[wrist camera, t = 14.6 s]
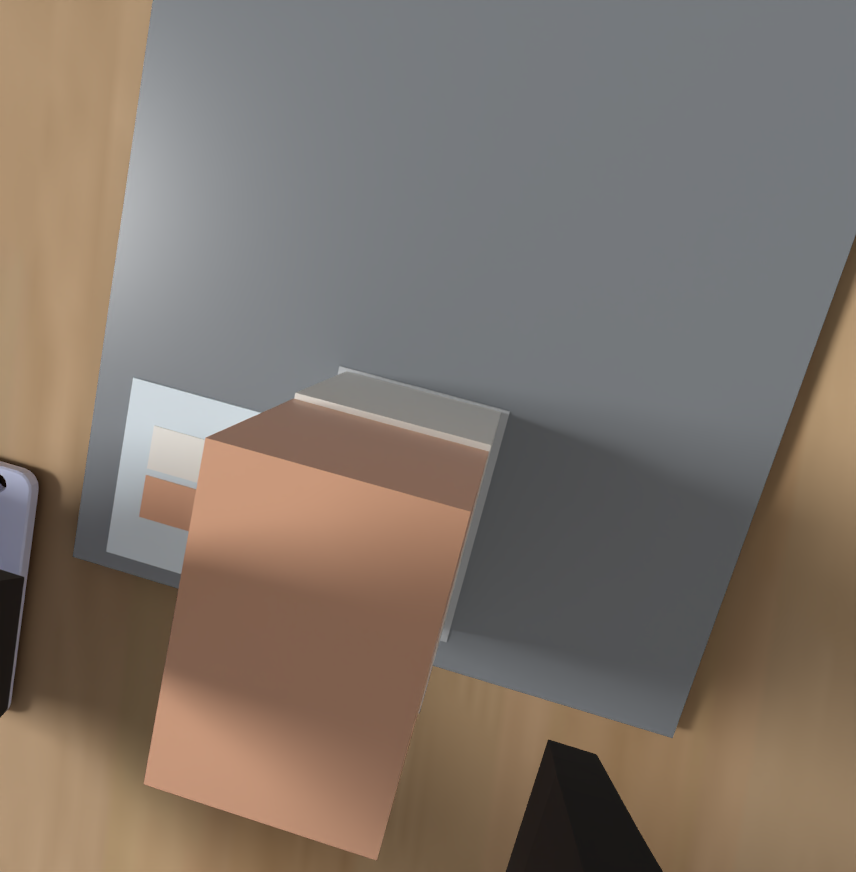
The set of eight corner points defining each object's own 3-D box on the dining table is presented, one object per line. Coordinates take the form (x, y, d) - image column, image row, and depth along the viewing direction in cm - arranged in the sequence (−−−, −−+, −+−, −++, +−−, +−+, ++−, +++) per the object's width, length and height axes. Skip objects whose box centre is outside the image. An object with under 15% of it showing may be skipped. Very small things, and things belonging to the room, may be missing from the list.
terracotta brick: (239, 664, 16) (144, 784, 12) (293, 398, 15) (205, 437, 11) (416, 718, 16) (376, 861, 12) (488, 451, 14) (470, 511, 10)
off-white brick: (299, 587, 20) (241, 659, 16) (345, 371, 18) (295, 392, 15) (442, 629, 19) (419, 713, 16) (501, 411, 18) (491, 445, 14)
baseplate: (85, 549, 21) (69, 558, 21) (203, -248, 17) (188, -273, 16) (668, 724, 20) (673, 741, 19) (966, -102, 15) (987, -121, 15)
